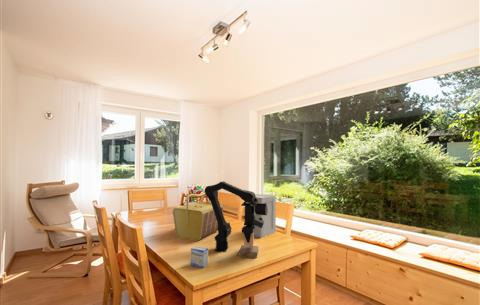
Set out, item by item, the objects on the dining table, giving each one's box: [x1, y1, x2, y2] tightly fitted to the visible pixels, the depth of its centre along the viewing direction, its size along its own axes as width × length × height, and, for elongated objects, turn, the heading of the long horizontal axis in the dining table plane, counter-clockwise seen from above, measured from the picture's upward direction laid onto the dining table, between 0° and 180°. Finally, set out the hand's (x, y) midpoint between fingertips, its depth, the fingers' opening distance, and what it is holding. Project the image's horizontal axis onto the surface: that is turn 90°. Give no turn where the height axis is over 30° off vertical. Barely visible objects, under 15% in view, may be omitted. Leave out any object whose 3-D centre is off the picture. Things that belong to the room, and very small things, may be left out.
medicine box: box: [189, 245, 209, 269], centre depth 120 cm, size 8×4×9 cm, turn 69°
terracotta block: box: [243, 232, 255, 246], centre depth 136 cm, size 5×5×6 cm
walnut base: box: [238, 244, 259, 259], centre depth 136 cm, size 10×10×3 cm
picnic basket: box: [172, 191, 224, 242], centre depth 170 cm, size 29×26×30 cm
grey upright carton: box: [253, 193, 277, 239], centre depth 176 cm, size 19×15×28 cm
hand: (248, 241), depth 136 cm, fingers closed on terracotta block, 5 cm apart
